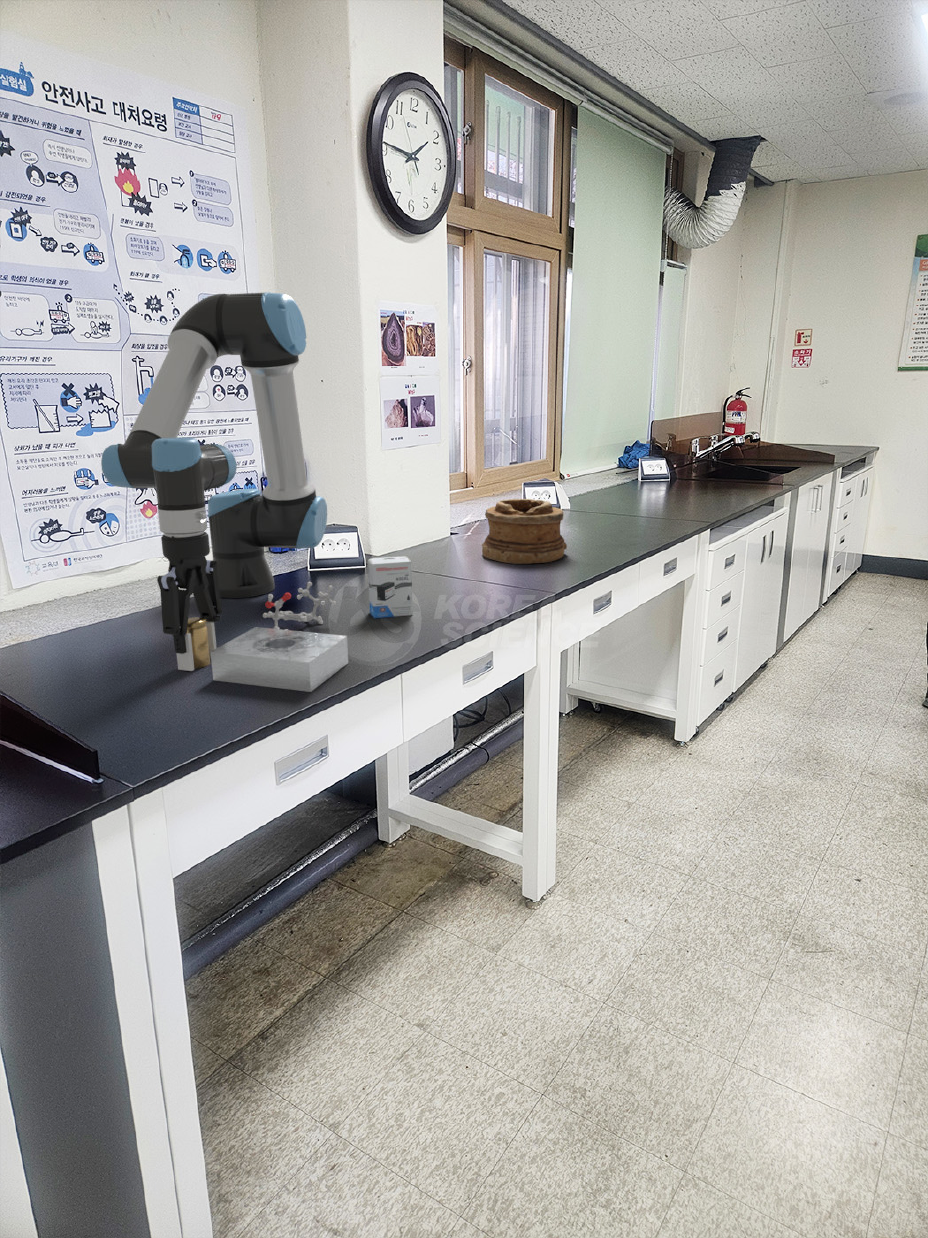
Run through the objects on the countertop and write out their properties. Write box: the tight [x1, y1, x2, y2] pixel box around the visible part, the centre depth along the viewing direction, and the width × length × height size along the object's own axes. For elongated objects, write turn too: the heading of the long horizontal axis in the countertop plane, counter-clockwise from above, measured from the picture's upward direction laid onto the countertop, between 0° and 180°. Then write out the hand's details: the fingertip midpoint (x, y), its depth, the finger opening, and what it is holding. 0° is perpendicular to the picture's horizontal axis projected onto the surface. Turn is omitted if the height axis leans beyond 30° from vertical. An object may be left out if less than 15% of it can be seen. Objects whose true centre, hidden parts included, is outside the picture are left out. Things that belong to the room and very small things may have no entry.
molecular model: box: [262, 581, 337, 630], centre depth 158 cm, size 19×10×10 cm, turn 148°
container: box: [481, 498, 568, 565], centre depth 221 cm, size 22×24×15 cm
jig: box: [210, 626, 349, 693], centre depth 136 cm, size 18×14×5 cm
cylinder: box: [187, 616, 211, 669], centre depth 140 cm, size 4×4×8 cm
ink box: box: [367, 555, 414, 619], centre depth 168 cm, size 8×5×12 cm, turn 105°
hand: (198, 662), depth 141 cm, fingers open, 6 cm apart
